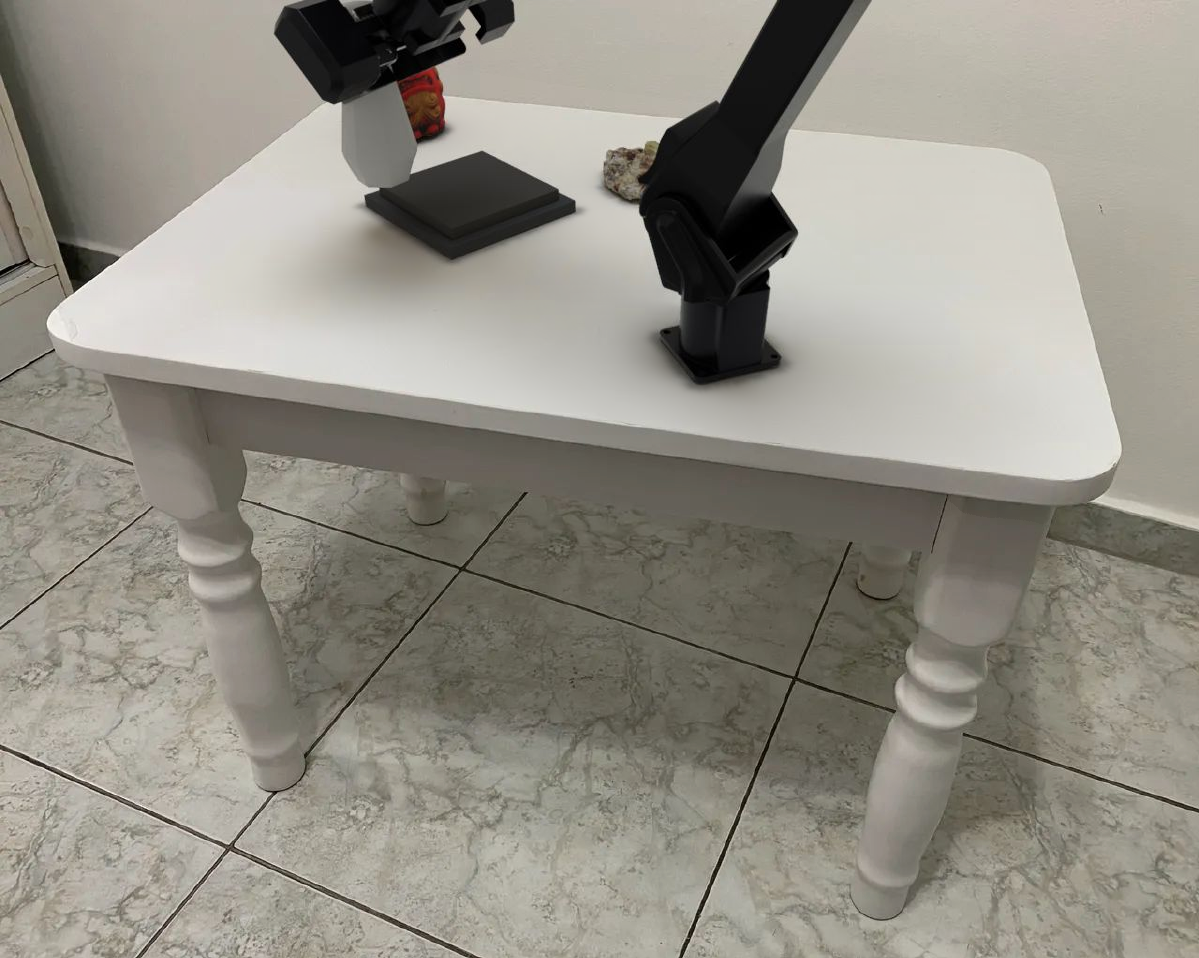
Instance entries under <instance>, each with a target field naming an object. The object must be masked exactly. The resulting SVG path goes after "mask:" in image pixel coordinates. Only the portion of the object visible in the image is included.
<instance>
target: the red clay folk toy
mask: <svg viewBox="0 0 1199 958" xmlns="http://www.w3.org/2000/svg"><path fill="white" fill-rule="evenodd" d="M397 85H398V88H399V91H400V94H401V97H402V100H403V103H404V106H405V109H406V112H407V115H408V118H409V121H410V124H411V127H412V130H413V134H414V137H415V140H419V139H421V138H422V137H433V136H435V135H437V134H439V133H441V132H442V131H443V130H445V128H446V120H445V114H446V101H445V98H444V95H443V93H444V83H443V82H442V80H441V78H440V74H439V70H438V68H437V66H435V67H433V68H430V69H428V70H426V71H423V72H421V73H419V74H416V75H414V76H412V77H409V78H407V79H405V80H402V81H400V82H398V83H397Z"/></svg>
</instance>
